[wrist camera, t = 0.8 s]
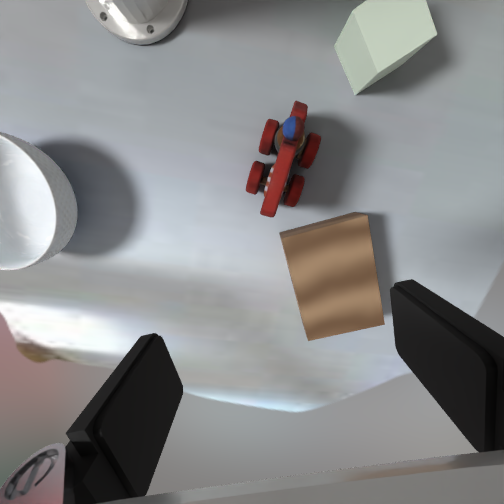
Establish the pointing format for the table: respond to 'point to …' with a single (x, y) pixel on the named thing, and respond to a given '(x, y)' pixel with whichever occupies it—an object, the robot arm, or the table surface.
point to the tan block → (334, 275)
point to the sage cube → (382, 38)
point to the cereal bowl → (32, 205)
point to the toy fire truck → (283, 160)
